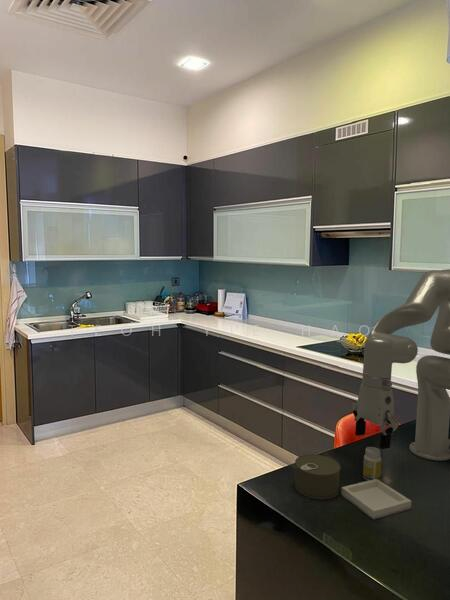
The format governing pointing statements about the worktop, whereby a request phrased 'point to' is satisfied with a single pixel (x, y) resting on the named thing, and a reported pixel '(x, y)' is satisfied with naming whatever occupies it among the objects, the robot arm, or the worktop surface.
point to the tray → (375, 498)
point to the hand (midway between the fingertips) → (372, 441)
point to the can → (317, 476)
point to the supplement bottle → (372, 464)
